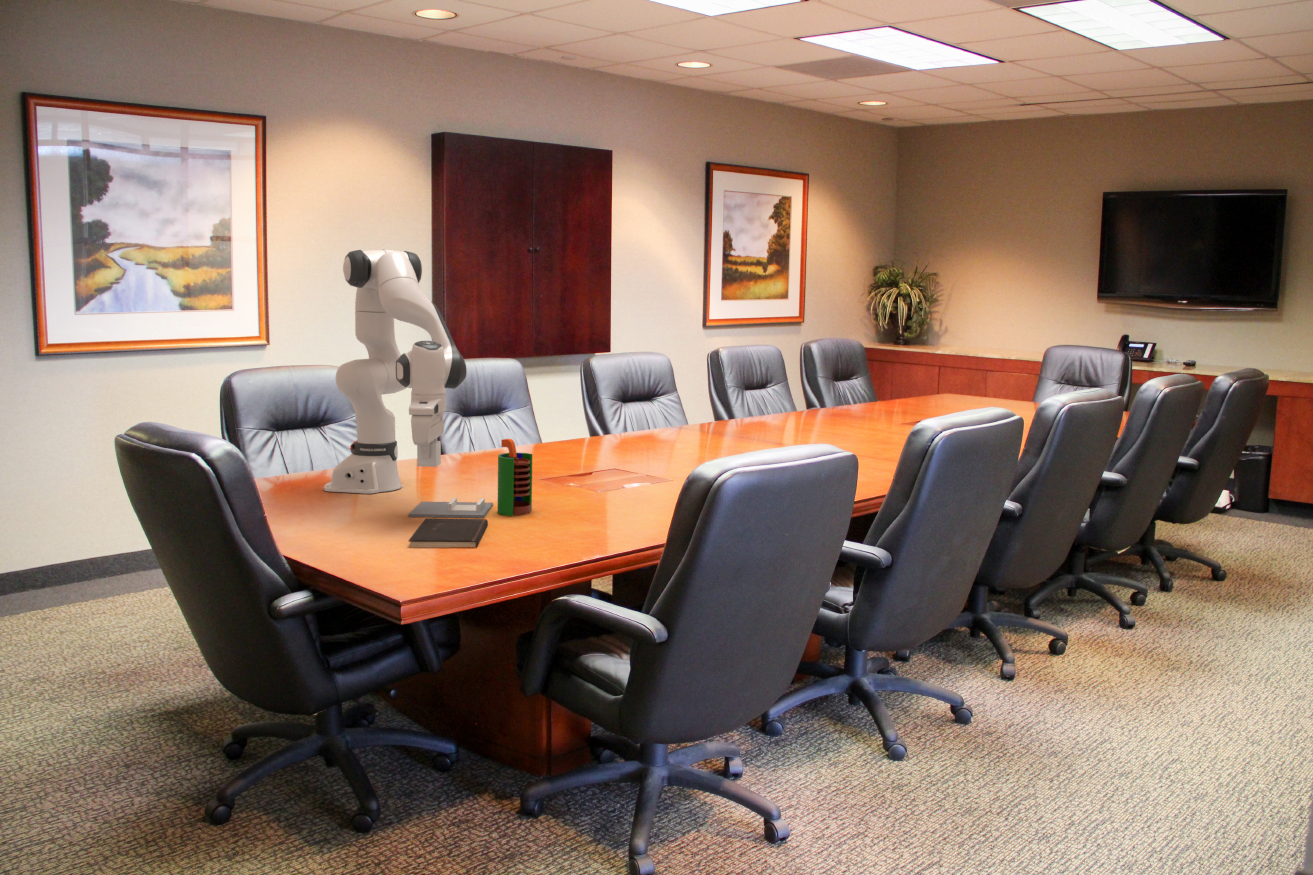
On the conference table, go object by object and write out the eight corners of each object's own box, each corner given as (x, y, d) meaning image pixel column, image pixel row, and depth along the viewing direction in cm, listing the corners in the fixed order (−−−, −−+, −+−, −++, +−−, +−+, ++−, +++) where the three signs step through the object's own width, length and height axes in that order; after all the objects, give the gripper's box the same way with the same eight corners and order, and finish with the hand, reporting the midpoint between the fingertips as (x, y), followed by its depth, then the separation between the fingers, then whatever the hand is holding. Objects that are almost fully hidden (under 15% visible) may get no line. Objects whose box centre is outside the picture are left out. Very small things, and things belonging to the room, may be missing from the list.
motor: (523, 517, 284) (523, 443, 281) (492, 515, 286) (491, 441, 283) (535, 509, 294) (535, 437, 291) (504, 507, 295) (504, 436, 293)
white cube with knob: (417, 466, 275) (417, 435, 274) (421, 462, 280) (421, 432, 279) (436, 466, 275) (436, 436, 274) (440, 463, 280) (440, 433, 279)
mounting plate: (408, 516, 282) (408, 506, 281) (421, 504, 297) (421, 494, 297) (483, 518, 282) (483, 507, 281) (492, 505, 298) (492, 495, 297)
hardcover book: (408, 549, 250) (408, 540, 250) (425, 527, 273) (425, 518, 273) (476, 550, 251) (476, 540, 251) (487, 527, 274) (487, 518, 273)
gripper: (425, 399, 285) (426, 449, 288) (406, 409, 265) (407, 463, 267) (449, 399, 285) (449, 450, 288) (432, 409, 265) (432, 464, 267)
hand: (429, 456), depth 277 cm, fingers closed on white cube with knob, 5 cm apart
